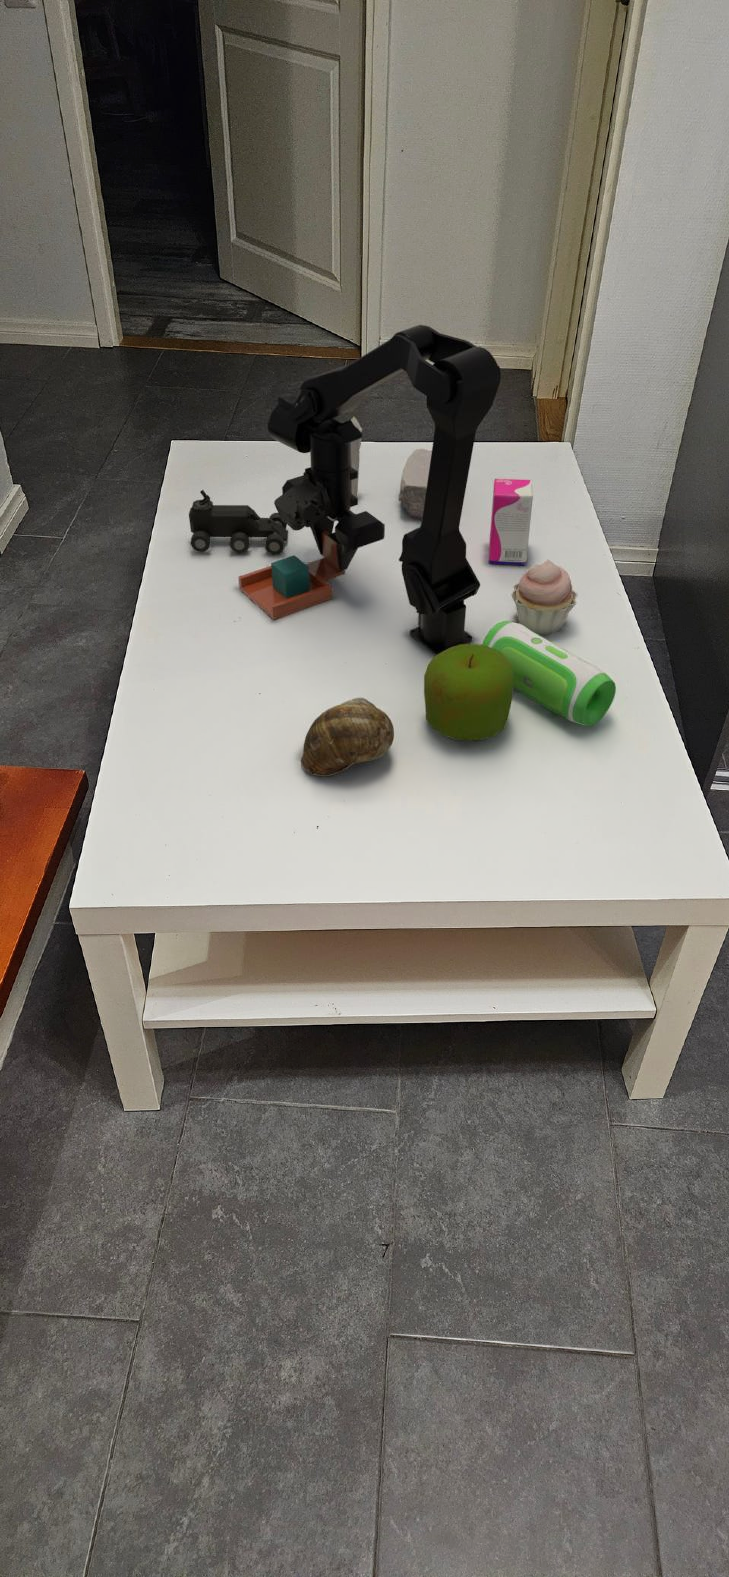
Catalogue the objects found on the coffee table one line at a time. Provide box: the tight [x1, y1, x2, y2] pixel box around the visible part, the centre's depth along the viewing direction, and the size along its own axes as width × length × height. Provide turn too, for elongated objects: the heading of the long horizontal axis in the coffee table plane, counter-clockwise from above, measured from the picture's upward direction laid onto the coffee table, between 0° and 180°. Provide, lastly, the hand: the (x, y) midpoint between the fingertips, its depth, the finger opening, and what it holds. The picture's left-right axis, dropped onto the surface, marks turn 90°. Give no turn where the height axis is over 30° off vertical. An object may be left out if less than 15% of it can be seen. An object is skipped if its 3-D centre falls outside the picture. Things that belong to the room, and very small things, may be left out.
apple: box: [423, 643, 515, 742], centre depth 132 cm, size 11×11×11 cm
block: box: [270, 554, 310, 598], centre depth 157 cm, size 4×4×4 cm
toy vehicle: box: [188, 489, 289, 556], centre depth 167 cm, size 8×15×9 cm, turn 90°
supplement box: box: [488, 478, 534, 566], centre depth 163 cm, size 6×6×12 cm
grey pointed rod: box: [350, 416, 363, 498], centre depth 176 cm, size 2×3×14 cm
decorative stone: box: [398, 448, 432, 520], centre depth 177 cm, size 15×7×10 cm
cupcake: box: [510, 559, 579, 635], centre depth 149 cm, size 9×9×10 cm
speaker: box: [481, 620, 617, 727], centre depth 138 cm, size 18×7×8 cm, turn 42°
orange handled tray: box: [237, 531, 346, 621], centre depth 157 cm, size 10×14×6 cm
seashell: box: [300, 697, 395, 777], centre depth 128 cm, size 11×9×8 cm
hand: (333, 561), depth 160 cm, fingers closed on orange handled tray, 5 cm apart
